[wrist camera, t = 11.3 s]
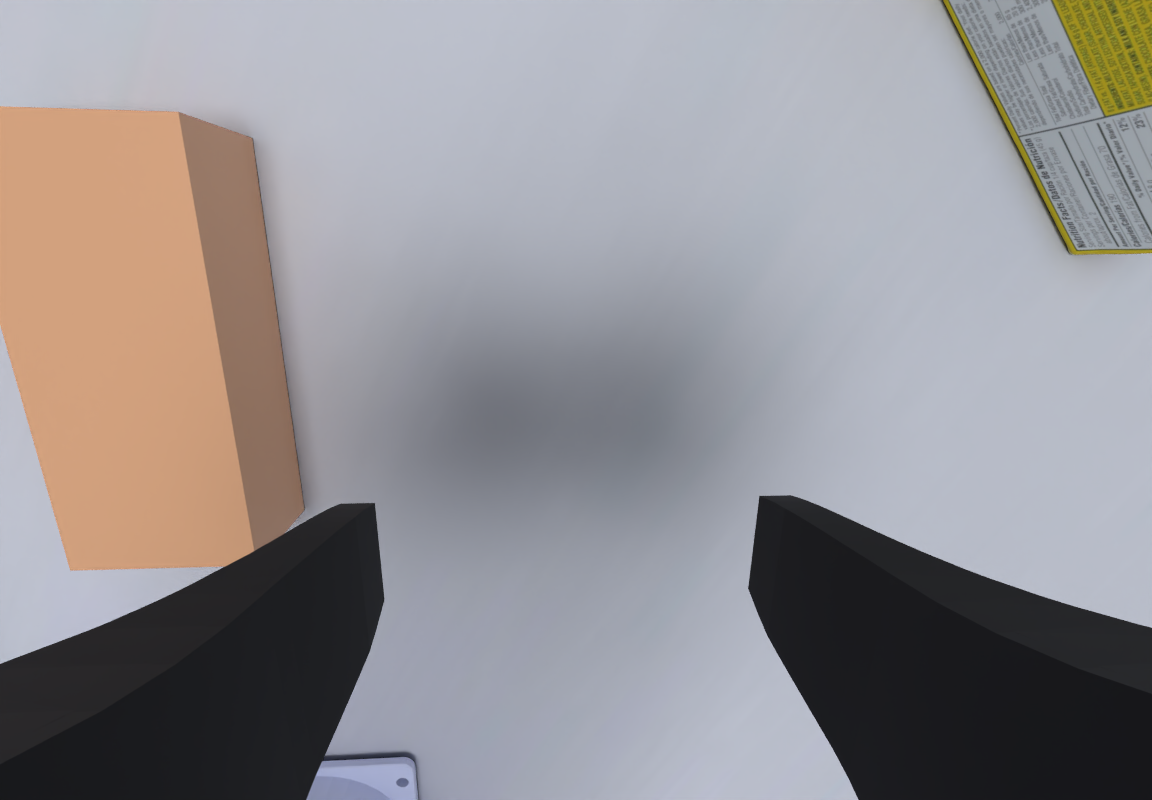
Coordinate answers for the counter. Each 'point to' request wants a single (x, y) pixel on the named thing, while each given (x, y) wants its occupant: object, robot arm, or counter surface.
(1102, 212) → the candy box
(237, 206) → the tan rectangular plank
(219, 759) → the robot arm
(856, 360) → the counter surface
